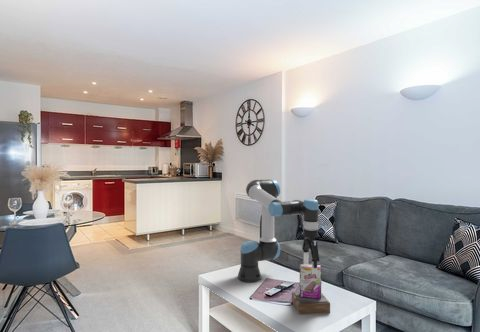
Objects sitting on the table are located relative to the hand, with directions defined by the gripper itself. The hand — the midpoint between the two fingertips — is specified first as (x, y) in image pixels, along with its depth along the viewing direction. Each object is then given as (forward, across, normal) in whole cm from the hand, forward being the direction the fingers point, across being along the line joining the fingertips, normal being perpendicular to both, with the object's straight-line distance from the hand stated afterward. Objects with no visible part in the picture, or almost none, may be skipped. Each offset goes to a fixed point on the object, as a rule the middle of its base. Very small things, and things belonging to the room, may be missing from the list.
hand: (310, 268), depth 158 cm
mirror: (+20, +1, 0) cm, 20 cm away
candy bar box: (+15, +1, 0) cm, 15 cm away
